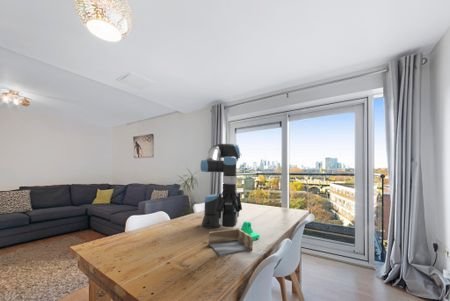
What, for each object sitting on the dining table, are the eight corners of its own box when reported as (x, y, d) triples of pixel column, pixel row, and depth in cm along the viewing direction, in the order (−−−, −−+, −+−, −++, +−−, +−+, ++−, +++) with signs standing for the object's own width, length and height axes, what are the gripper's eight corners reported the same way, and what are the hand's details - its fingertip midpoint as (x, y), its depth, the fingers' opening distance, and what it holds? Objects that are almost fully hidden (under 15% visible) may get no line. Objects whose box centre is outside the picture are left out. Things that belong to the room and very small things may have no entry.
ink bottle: (237, 223, 116) (238, 202, 117) (235, 228, 108) (236, 205, 109) (221, 222, 118) (221, 201, 119) (218, 226, 109) (218, 204, 110)
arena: (208, 244, 117) (209, 232, 117) (238, 239, 125) (238, 228, 126) (219, 255, 102) (219, 241, 103) (252, 249, 111) (252, 236, 111)
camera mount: (246, 242, 121) (247, 225, 122) (238, 239, 127) (238, 222, 128) (260, 238, 129) (260, 222, 129) (251, 235, 135) (251, 219, 135)
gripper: (214, 184, 107) (213, 227, 105) (248, 183, 116) (248, 223, 114) (209, 183, 114) (208, 223, 112) (242, 182, 123) (241, 220, 121)
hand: (228, 223), depth 113 cm, fingers closed on ink bottle, 9 cm apart
